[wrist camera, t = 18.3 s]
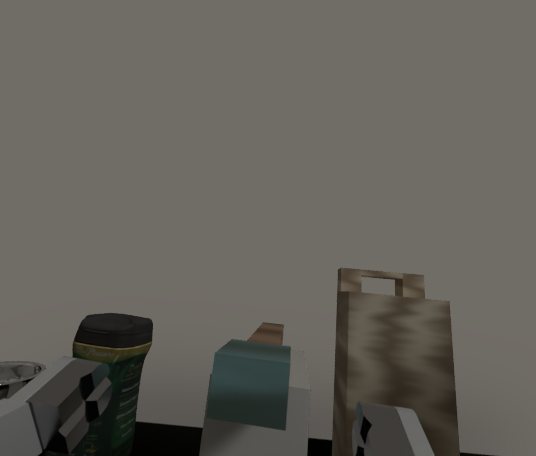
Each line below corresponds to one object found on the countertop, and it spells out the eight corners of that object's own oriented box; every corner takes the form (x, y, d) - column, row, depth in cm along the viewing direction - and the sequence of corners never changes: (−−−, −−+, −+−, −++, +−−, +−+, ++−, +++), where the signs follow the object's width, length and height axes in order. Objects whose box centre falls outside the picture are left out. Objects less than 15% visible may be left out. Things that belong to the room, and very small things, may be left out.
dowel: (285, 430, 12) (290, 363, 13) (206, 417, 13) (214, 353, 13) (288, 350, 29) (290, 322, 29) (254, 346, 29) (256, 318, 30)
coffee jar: (140, 453, 36) (165, 315, 40) (93, 496, 28) (131, 321, 32) (83, 438, 37) (113, 308, 42) (24, 475, 30) (69, 312, 34)
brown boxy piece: (422, 491, 34) (414, 276, 41) (466, 560, 25) (447, 272, 32) (331, 474, 35) (338, 269, 42) (343, 534, 27) (349, 263, 33)
